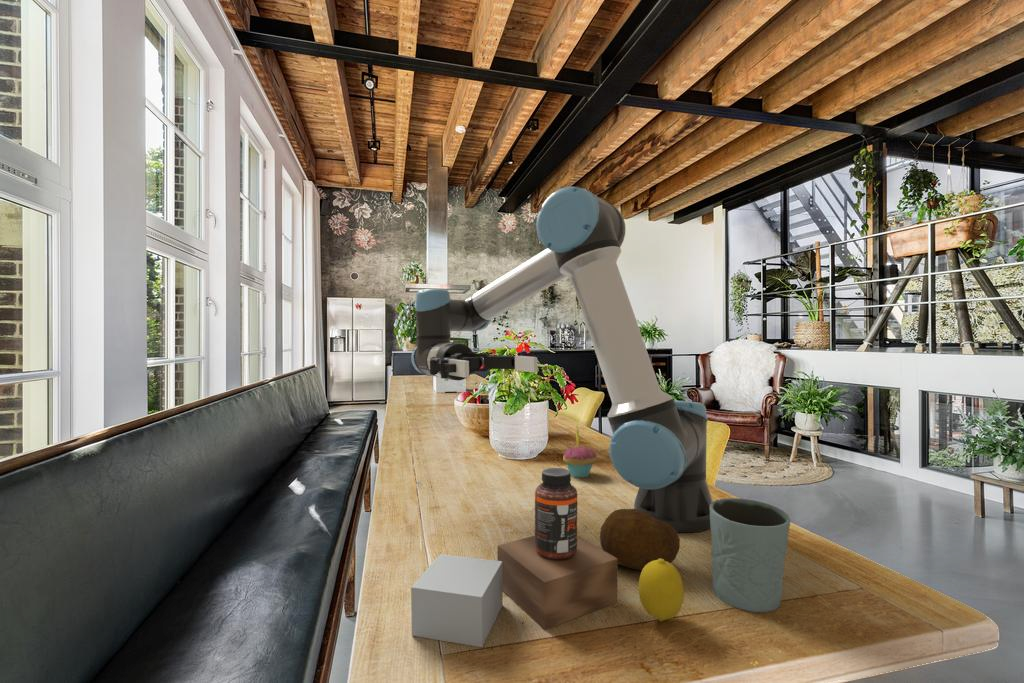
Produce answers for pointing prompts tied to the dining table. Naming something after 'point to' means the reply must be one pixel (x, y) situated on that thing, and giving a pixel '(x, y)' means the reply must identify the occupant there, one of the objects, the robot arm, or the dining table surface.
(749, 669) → the dining table surface
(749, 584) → the grey green planter pot
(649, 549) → the potato
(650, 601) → the lemon
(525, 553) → the walnut block
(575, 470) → the cupcake
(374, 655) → the dining table surface
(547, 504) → the supplement bottle
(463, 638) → the grey block
